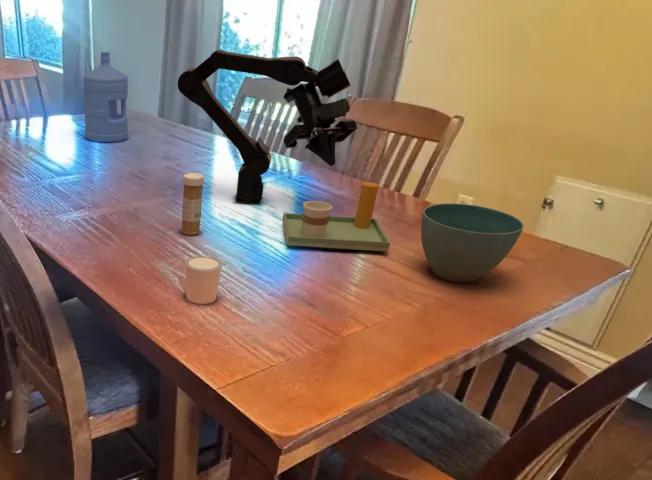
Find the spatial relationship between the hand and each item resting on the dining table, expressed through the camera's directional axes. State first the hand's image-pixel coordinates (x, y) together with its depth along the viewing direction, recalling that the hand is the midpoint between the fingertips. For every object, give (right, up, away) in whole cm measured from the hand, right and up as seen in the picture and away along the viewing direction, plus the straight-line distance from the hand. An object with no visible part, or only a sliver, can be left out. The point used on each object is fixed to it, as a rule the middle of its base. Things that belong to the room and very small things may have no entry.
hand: (332, 164), depth 147 cm
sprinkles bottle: (-34, -17, -2) cm, 38 cm away
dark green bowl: (+19, -29, -20) cm, 40 cm away
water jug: (-60, +35, +77) cm, 103 cm away
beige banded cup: (-7, -19, -7) cm, 21 cm away
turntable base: (-2, -19, -4) cm, 19 cm away
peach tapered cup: (-34, -35, -31) cm, 58 cm away
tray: (-2, -19, -4) cm, 19 cm away
